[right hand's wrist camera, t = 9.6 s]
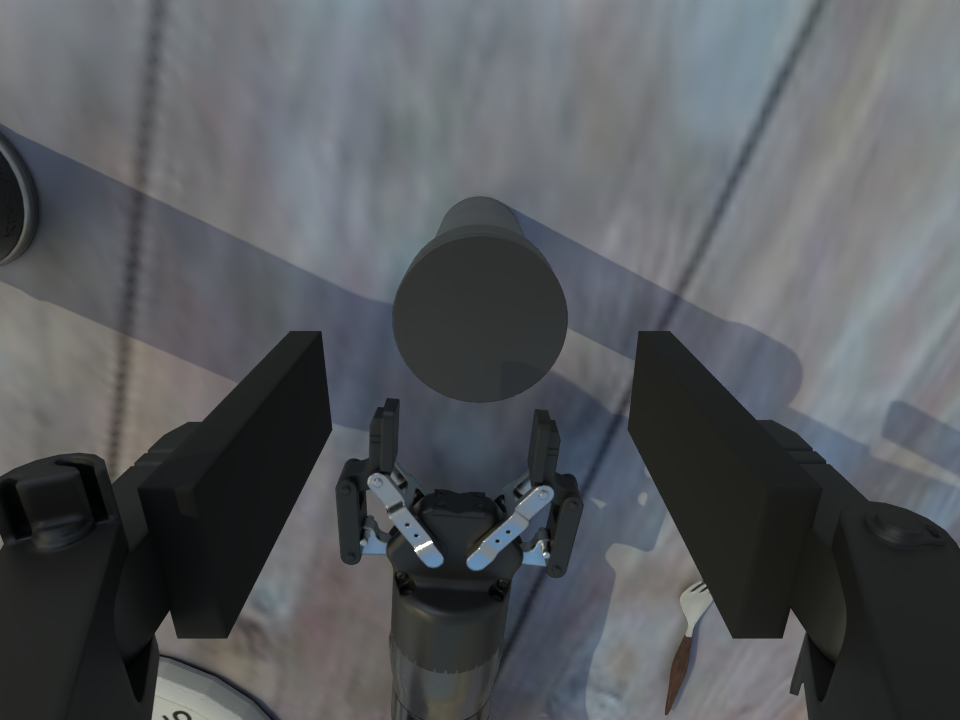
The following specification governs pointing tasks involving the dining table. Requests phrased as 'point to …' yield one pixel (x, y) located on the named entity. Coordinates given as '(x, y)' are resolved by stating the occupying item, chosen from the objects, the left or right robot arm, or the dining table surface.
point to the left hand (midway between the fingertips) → (468, 409)
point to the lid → (479, 314)
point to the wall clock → (198, 696)
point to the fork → (686, 636)
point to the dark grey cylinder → (480, 215)
